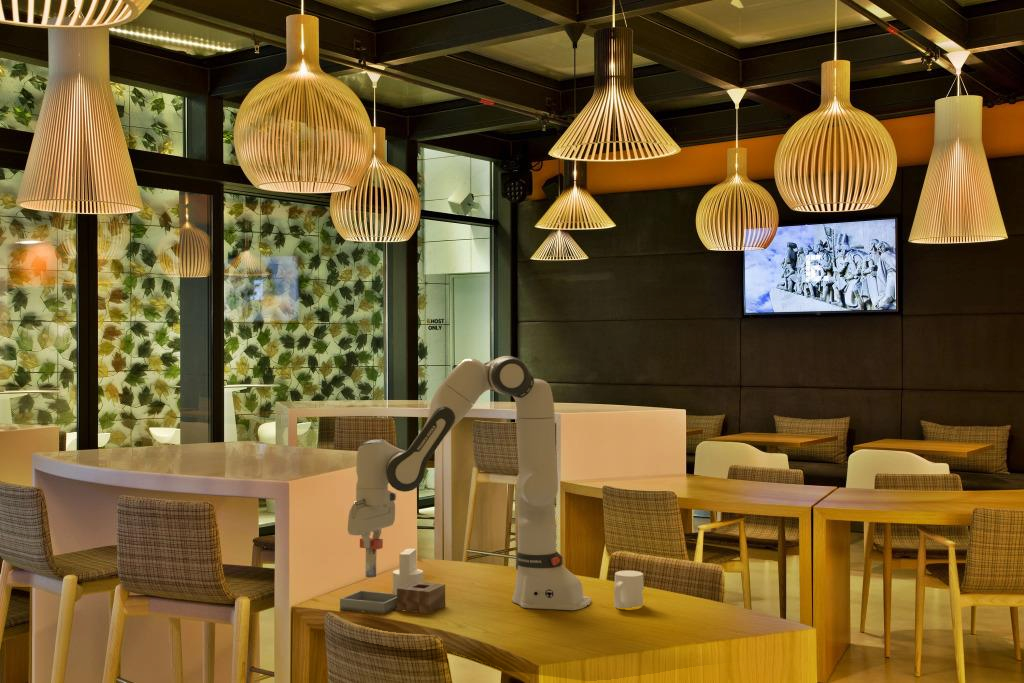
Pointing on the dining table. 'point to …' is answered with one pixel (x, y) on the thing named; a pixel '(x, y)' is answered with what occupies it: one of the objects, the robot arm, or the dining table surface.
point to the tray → (369, 602)
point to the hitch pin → (371, 556)
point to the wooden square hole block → (420, 596)
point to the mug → (628, 589)
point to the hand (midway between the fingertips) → (371, 546)
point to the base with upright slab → (406, 570)
